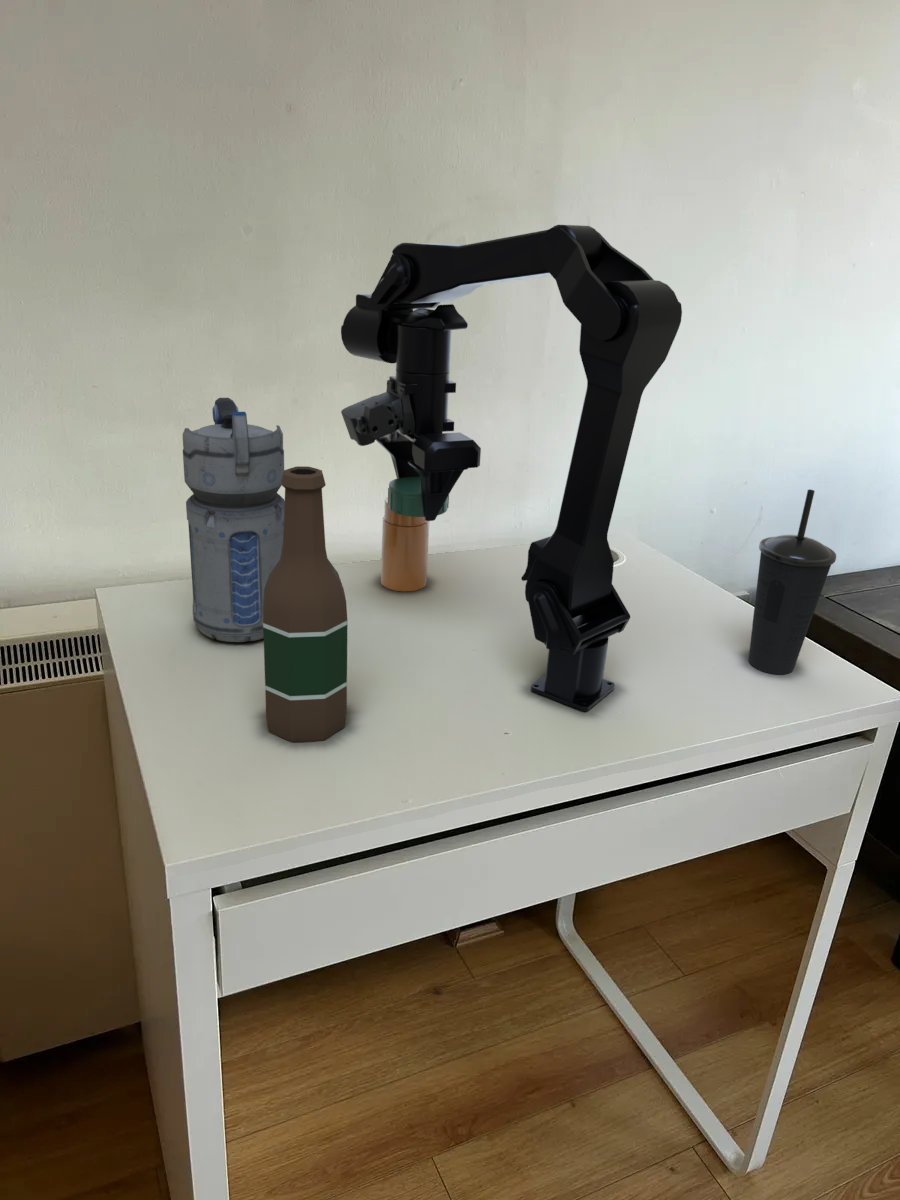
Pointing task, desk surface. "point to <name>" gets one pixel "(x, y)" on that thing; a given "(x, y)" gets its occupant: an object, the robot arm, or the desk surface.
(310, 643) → the beer bottle
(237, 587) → the beverage bottle
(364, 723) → the desk surface
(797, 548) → the drinking cup
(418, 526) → the jar
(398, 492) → the lid
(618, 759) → the desk surface
